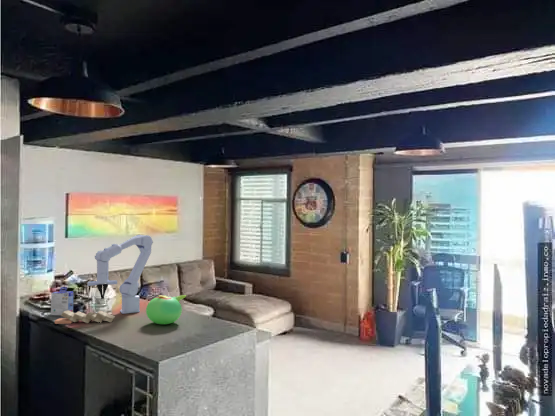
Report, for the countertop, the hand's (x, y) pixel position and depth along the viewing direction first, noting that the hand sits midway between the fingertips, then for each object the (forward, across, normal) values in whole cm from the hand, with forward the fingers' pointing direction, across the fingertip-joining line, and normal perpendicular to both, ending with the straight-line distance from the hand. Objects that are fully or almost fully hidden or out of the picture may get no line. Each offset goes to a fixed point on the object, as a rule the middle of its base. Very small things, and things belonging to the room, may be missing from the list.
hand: (102, 298), depth 222 cm
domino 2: (+9, +11, +6) cm, 15 cm away
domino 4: (+9, -1, +9) cm, 13 cm away
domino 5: (+9, -5, +10) cm, 15 cm away
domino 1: (+10, +14, +5) cm, 17 cm away
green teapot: (+10, -30, +24) cm, 39 cm away
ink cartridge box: (+10, +21, -14) cm, 27 cm away
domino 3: (+9, +5, +8) cm, 13 cm away
